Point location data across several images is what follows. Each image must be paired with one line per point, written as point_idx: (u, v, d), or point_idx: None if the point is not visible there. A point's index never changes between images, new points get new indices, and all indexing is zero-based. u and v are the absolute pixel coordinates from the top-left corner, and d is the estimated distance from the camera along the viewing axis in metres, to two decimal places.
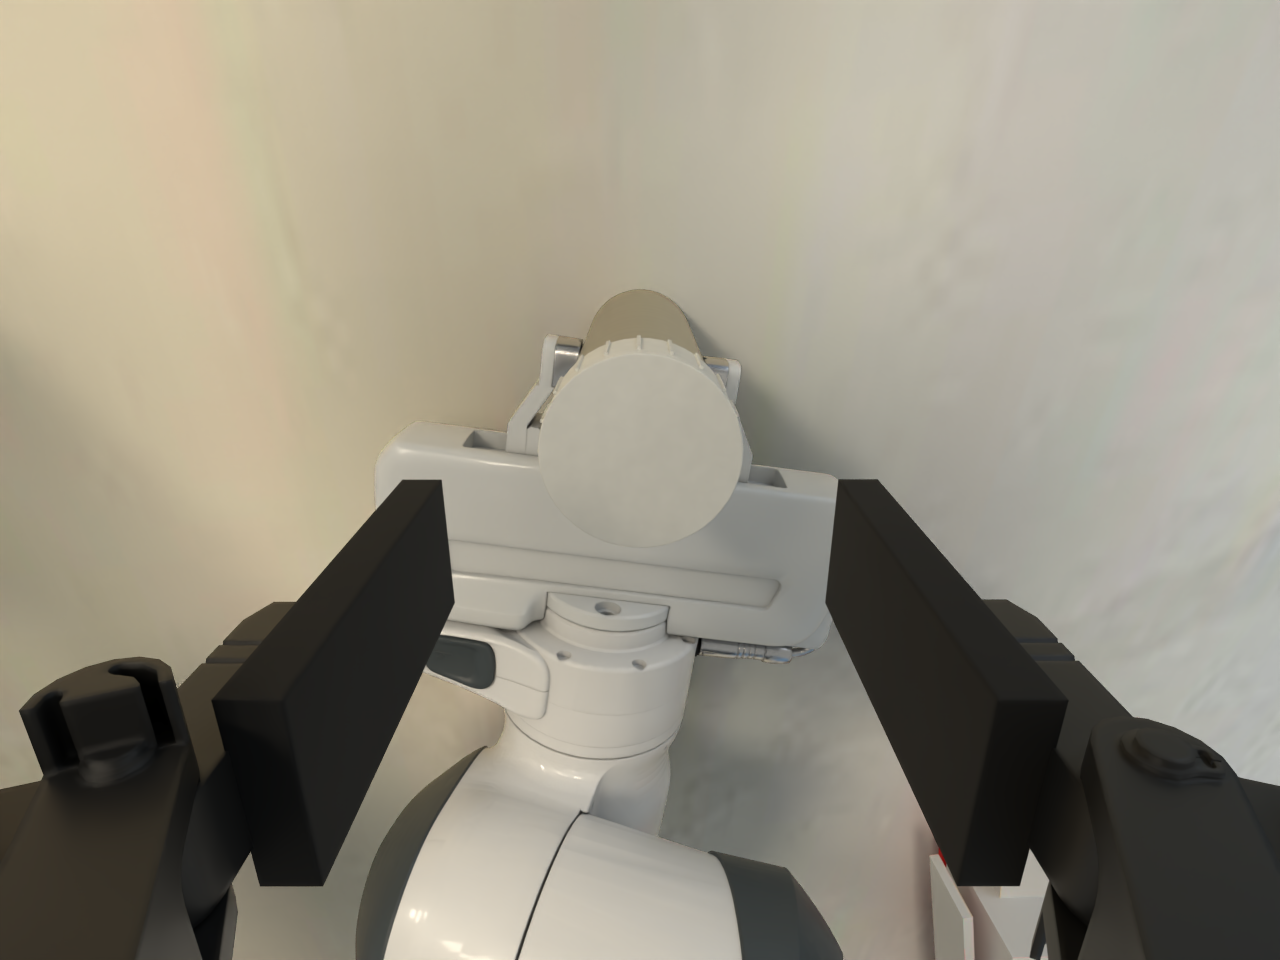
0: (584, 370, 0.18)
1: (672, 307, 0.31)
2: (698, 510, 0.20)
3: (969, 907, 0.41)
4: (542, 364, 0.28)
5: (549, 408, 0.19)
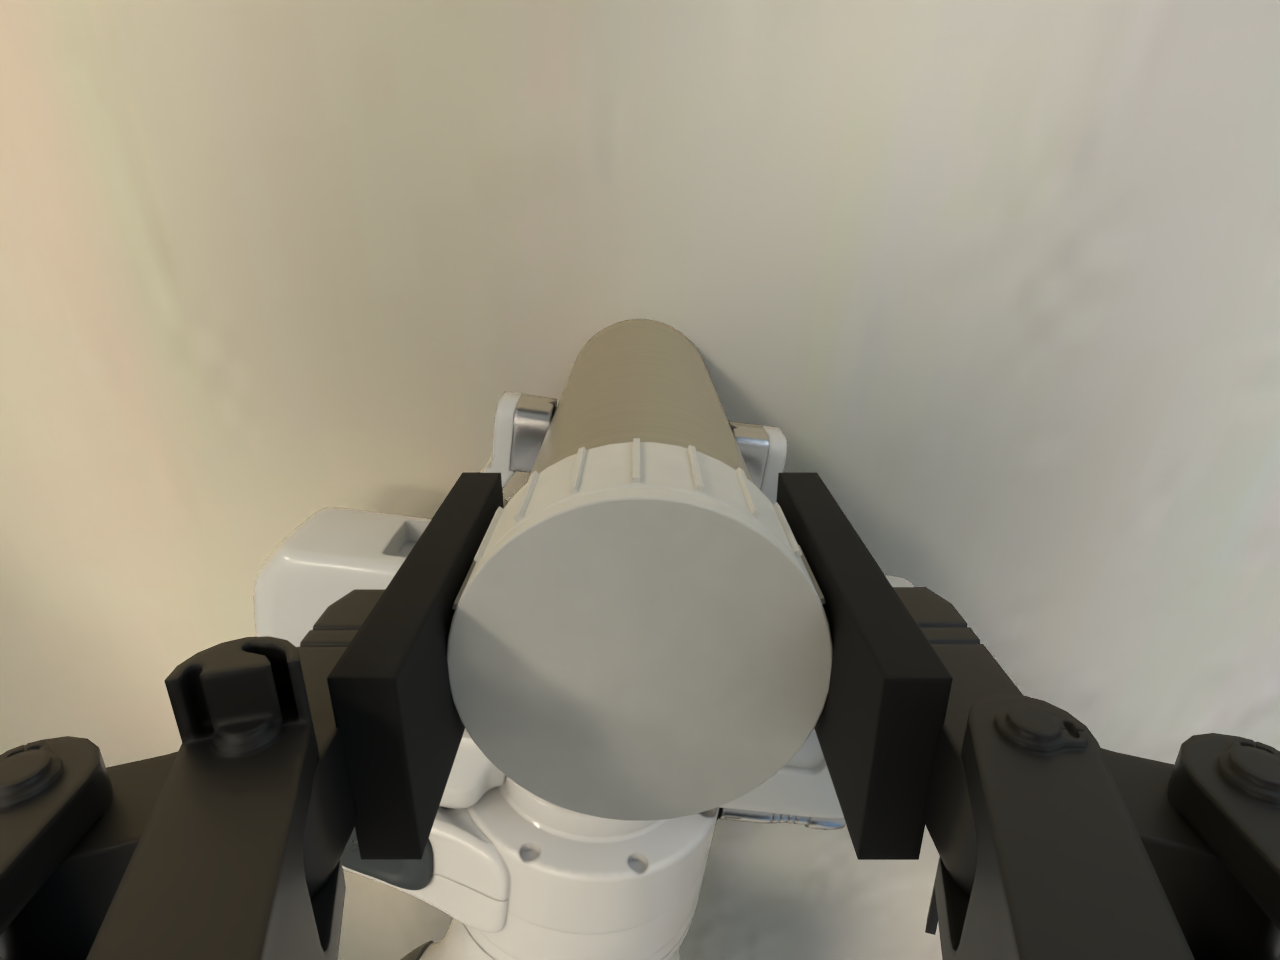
0: (530, 527, 0.09)
1: (684, 347, 0.22)
2: (745, 763, 0.11)
3: None
4: (495, 439, 0.19)
5: (464, 594, 0.10)
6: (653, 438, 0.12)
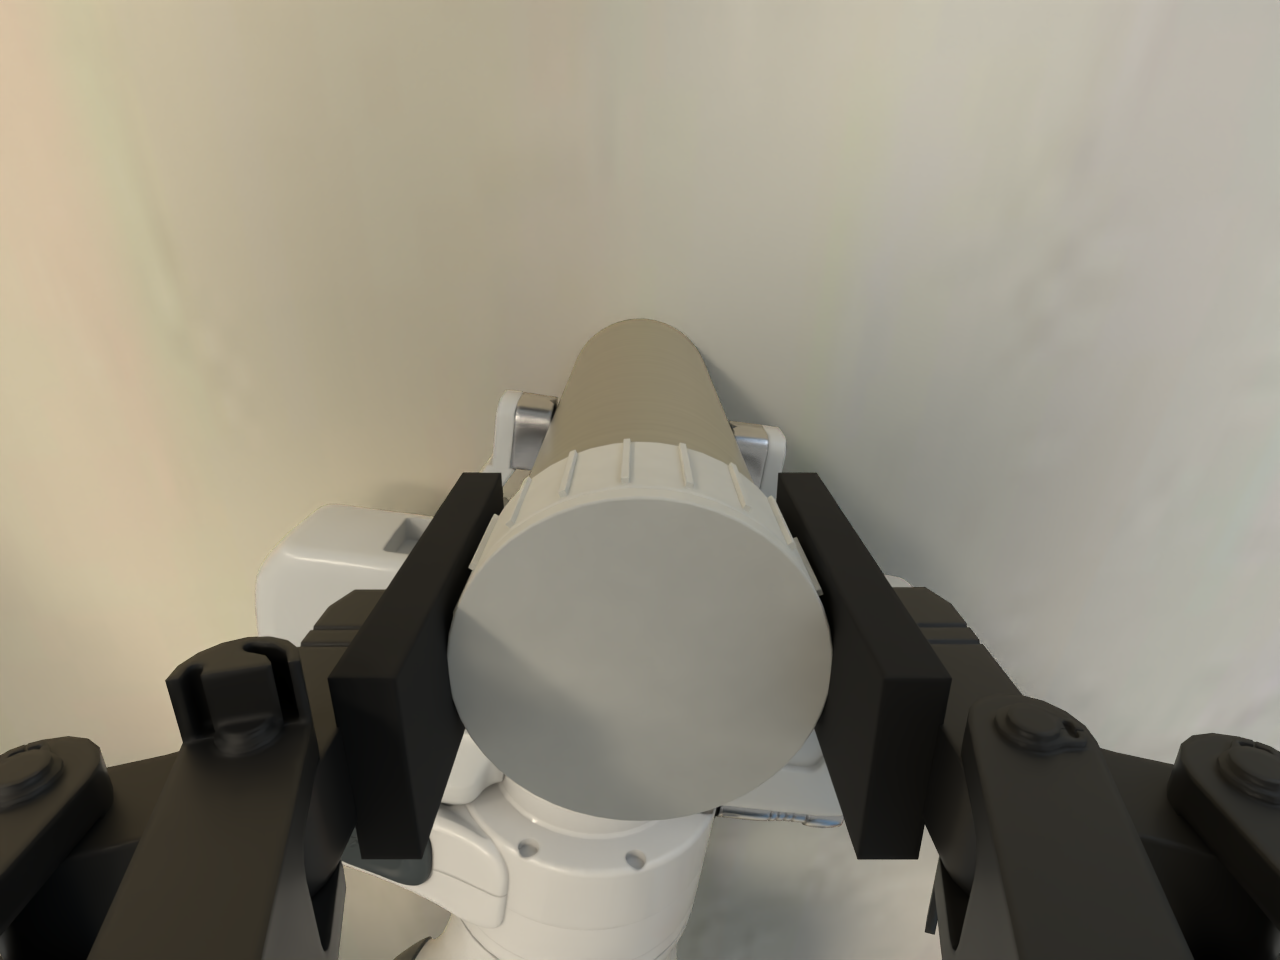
0: (533, 793, 0.11)
1: (685, 347, 0.22)
2: (709, 544, 0.09)
3: None
4: (496, 436, 0.19)
5: (616, 818, 0.11)
6: (654, 436, 0.12)
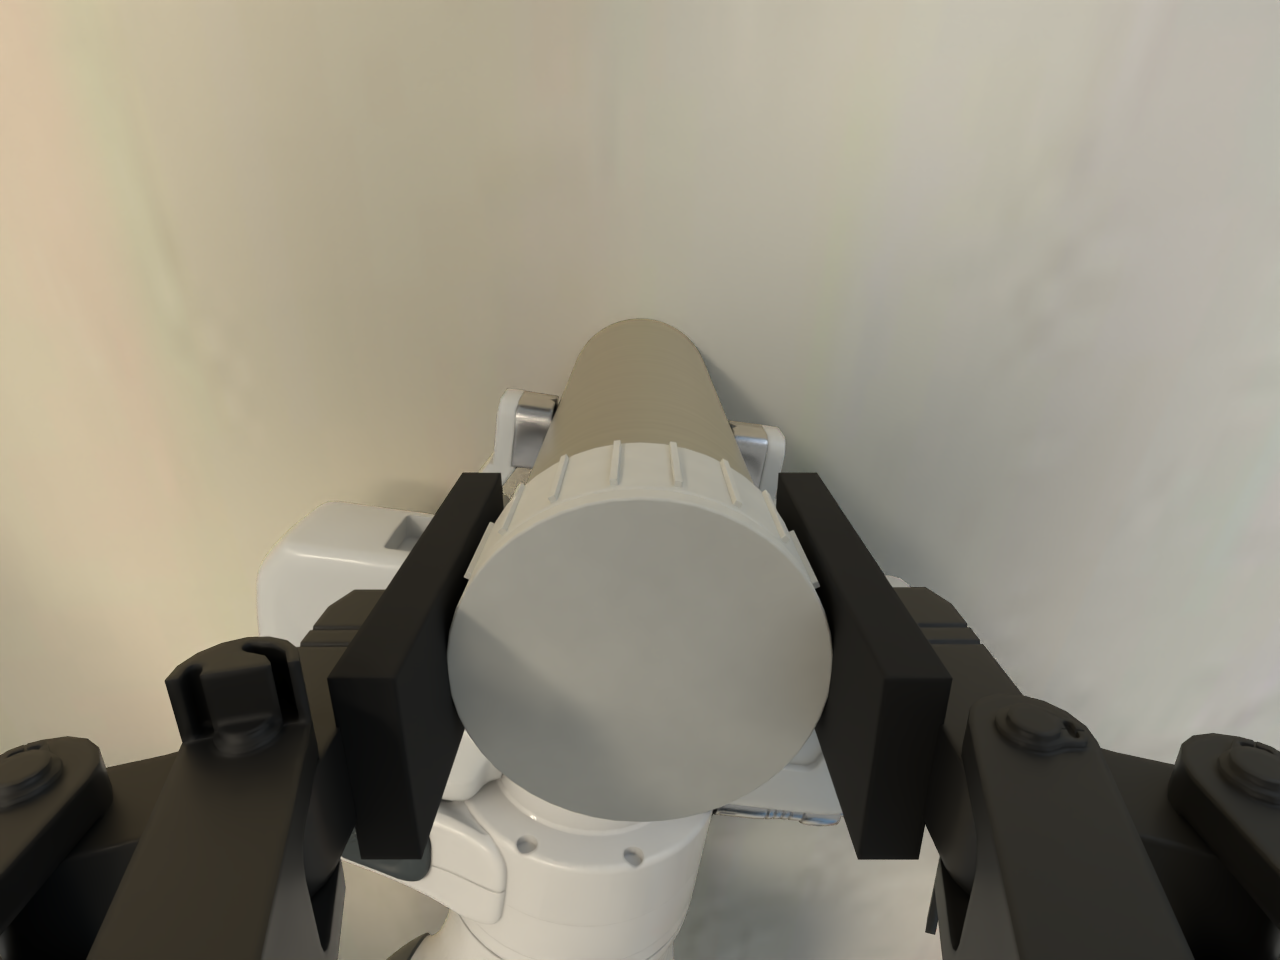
0: (818, 718, 0.10)
1: (685, 347, 0.23)
2: (481, 669, 0.10)
3: None
4: (497, 434, 0.19)
5: (829, 637, 0.10)
6: (654, 434, 0.12)
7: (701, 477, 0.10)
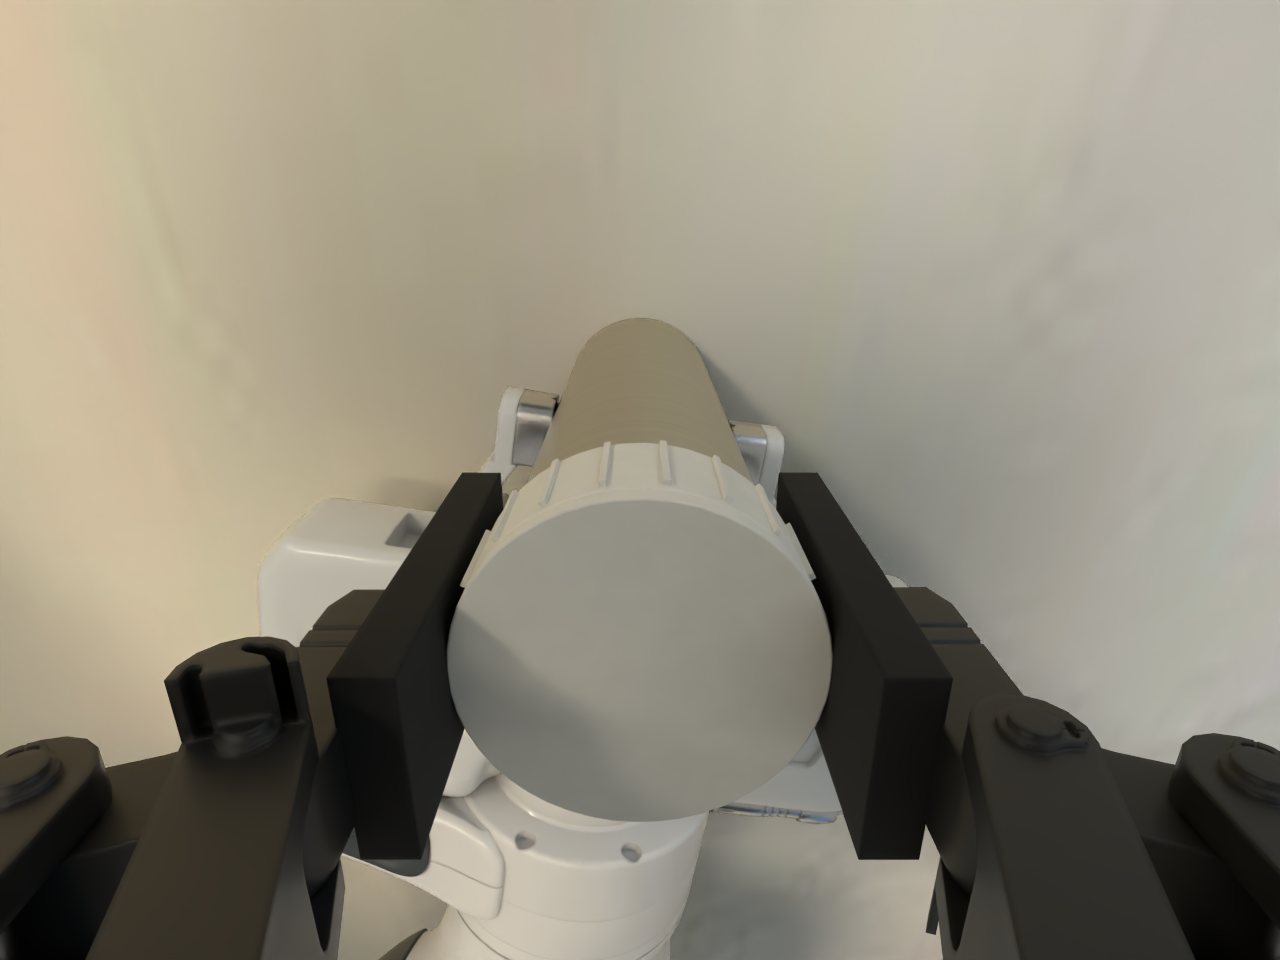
0: (619, 500, 0.09)
1: (685, 346, 0.23)
2: (686, 792, 0.11)
3: None
4: (498, 433, 0.19)
5: (522, 534, 0.09)
6: (655, 433, 0.13)
7: None
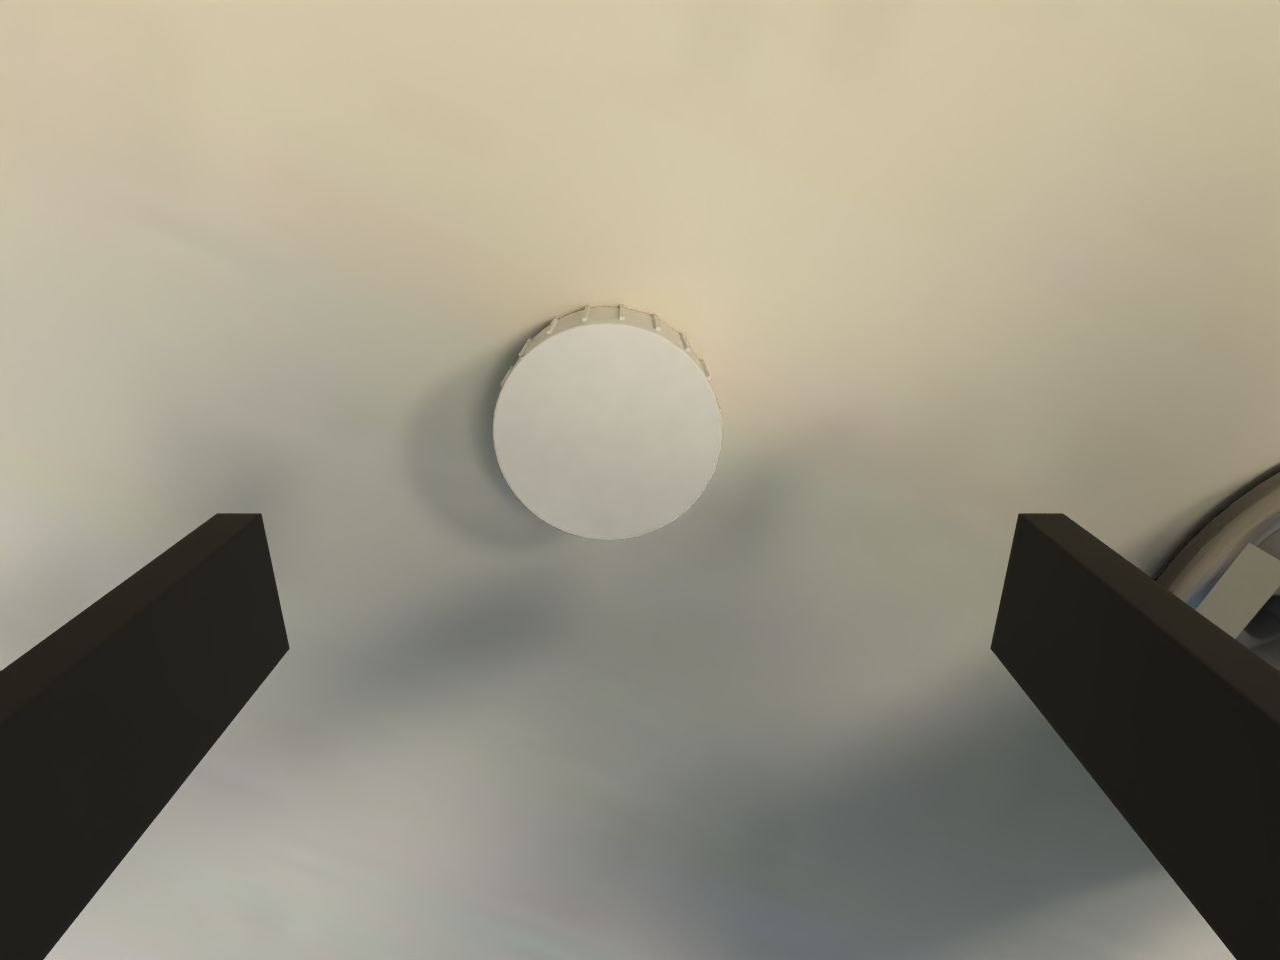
0: (594, 324, 0.16)
1: None
2: (637, 518, 0.18)
3: None
4: None
5: (538, 346, 0.16)
6: None
7: None
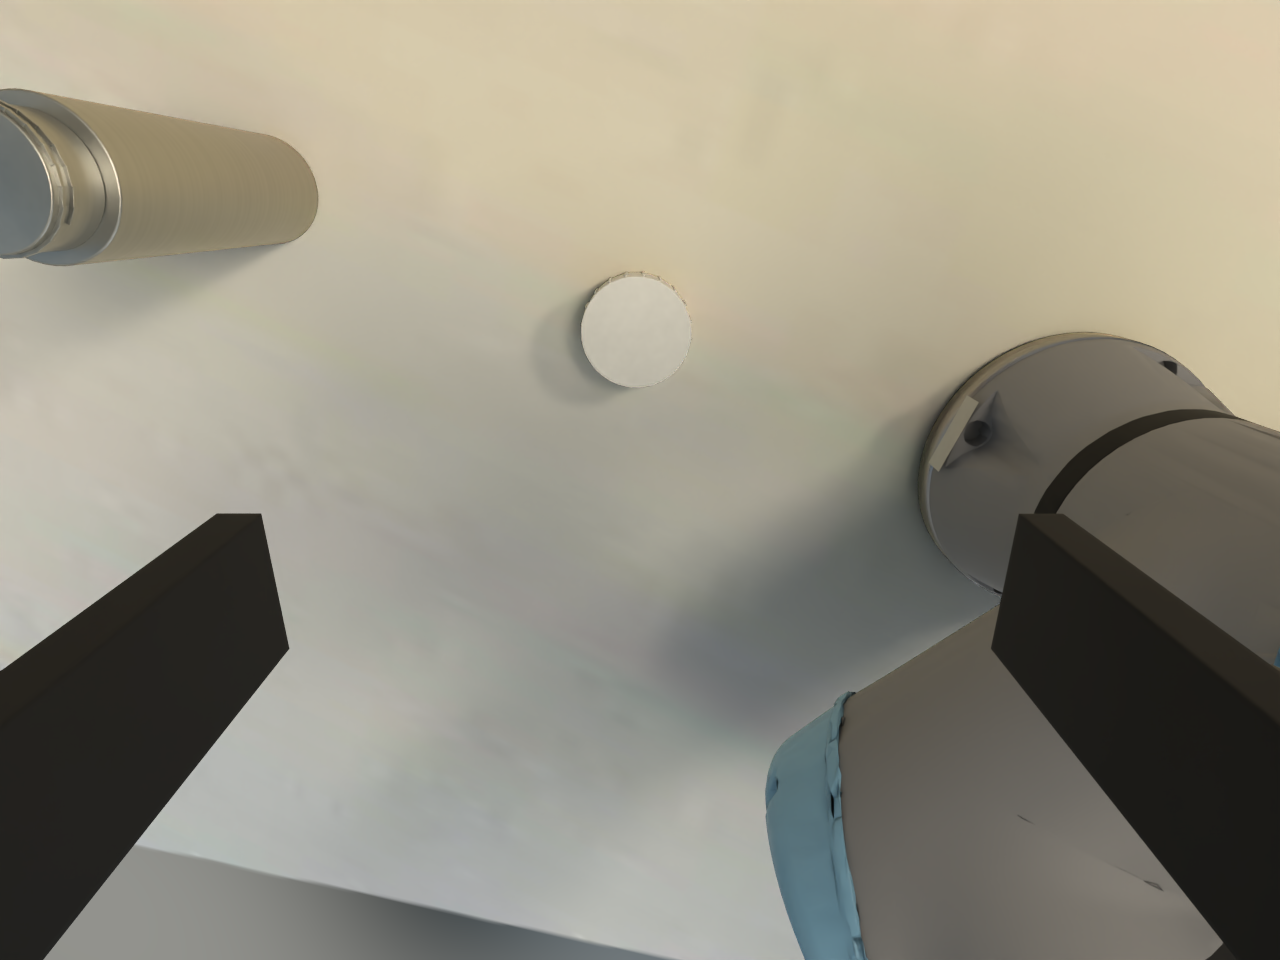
0: (630, 277, 0.34)
1: (272, 237, 0.33)
2: (650, 376, 0.36)
3: None
4: None
5: (604, 287, 0.35)
6: (133, 221, 0.23)
7: None
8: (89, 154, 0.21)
